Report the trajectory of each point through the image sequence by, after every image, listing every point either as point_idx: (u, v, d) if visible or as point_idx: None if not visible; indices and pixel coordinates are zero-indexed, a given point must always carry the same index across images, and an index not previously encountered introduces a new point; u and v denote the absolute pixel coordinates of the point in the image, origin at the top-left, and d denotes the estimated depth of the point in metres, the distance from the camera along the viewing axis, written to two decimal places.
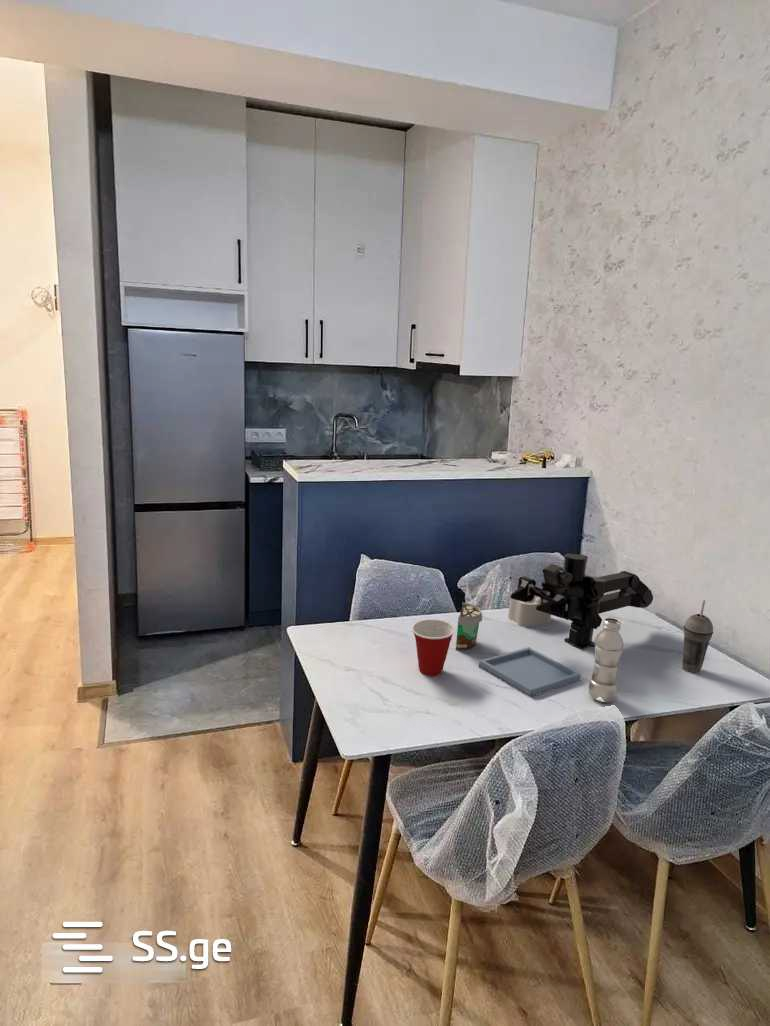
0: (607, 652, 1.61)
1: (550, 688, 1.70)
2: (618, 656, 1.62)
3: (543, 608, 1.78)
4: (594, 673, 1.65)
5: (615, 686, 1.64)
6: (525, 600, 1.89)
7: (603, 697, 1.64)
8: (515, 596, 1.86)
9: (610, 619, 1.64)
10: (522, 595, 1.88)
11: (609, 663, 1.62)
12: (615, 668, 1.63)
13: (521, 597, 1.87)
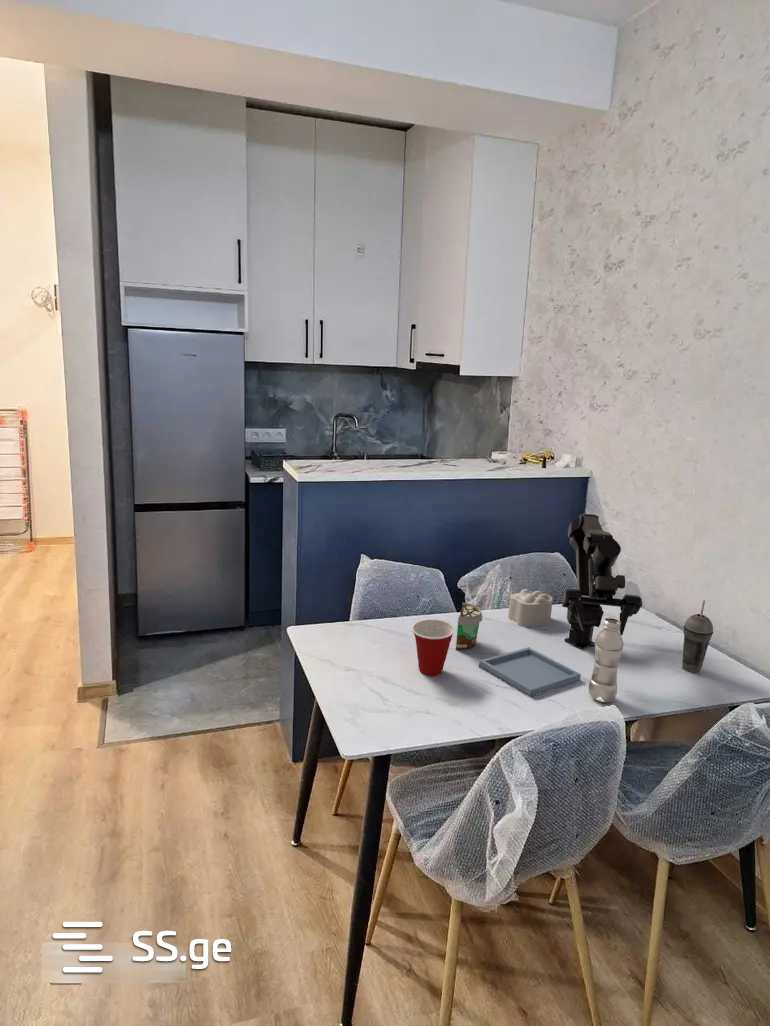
0: (607, 652, 1.61)
1: (550, 688, 1.70)
2: (618, 656, 1.62)
3: (624, 628, 1.72)
4: (594, 673, 1.65)
5: (615, 686, 1.64)
6: None
7: (603, 697, 1.64)
8: None
9: (610, 619, 1.64)
10: None
11: (609, 663, 1.62)
12: (615, 668, 1.63)
13: None
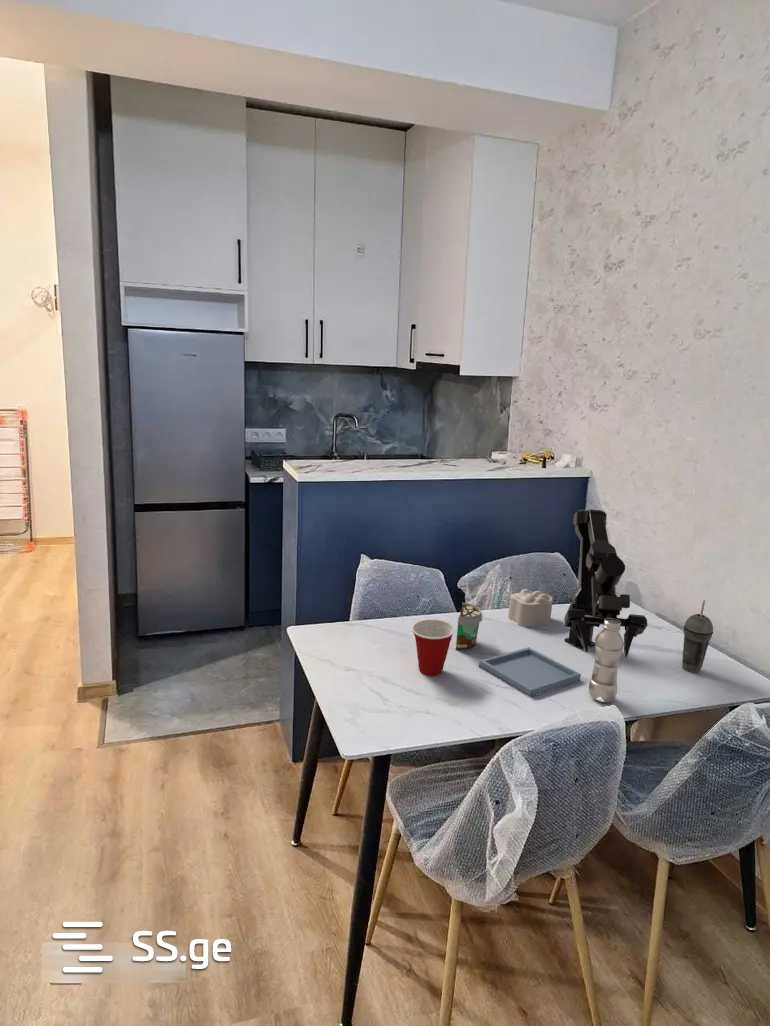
0: (607, 652, 1.61)
1: (550, 688, 1.70)
2: (618, 656, 1.62)
3: (628, 650, 1.66)
4: (594, 673, 1.65)
5: (615, 686, 1.64)
6: None
7: (603, 697, 1.64)
8: None
9: (610, 619, 1.64)
10: None
11: (609, 663, 1.62)
12: (615, 668, 1.63)
13: None
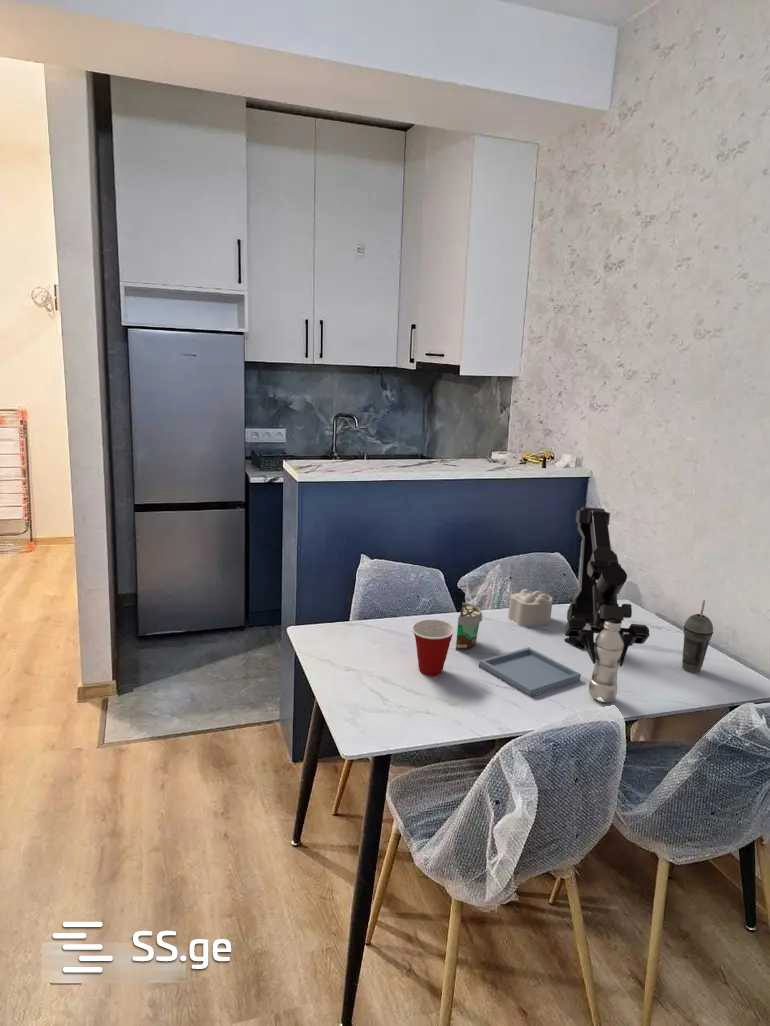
0: (607, 652, 1.61)
1: (550, 688, 1.70)
2: (618, 656, 1.62)
3: (623, 659, 1.64)
4: (594, 673, 1.65)
5: (615, 686, 1.64)
6: None
7: (603, 697, 1.63)
8: None
9: (610, 619, 1.64)
10: None
11: (609, 663, 1.62)
12: (615, 668, 1.63)
13: None
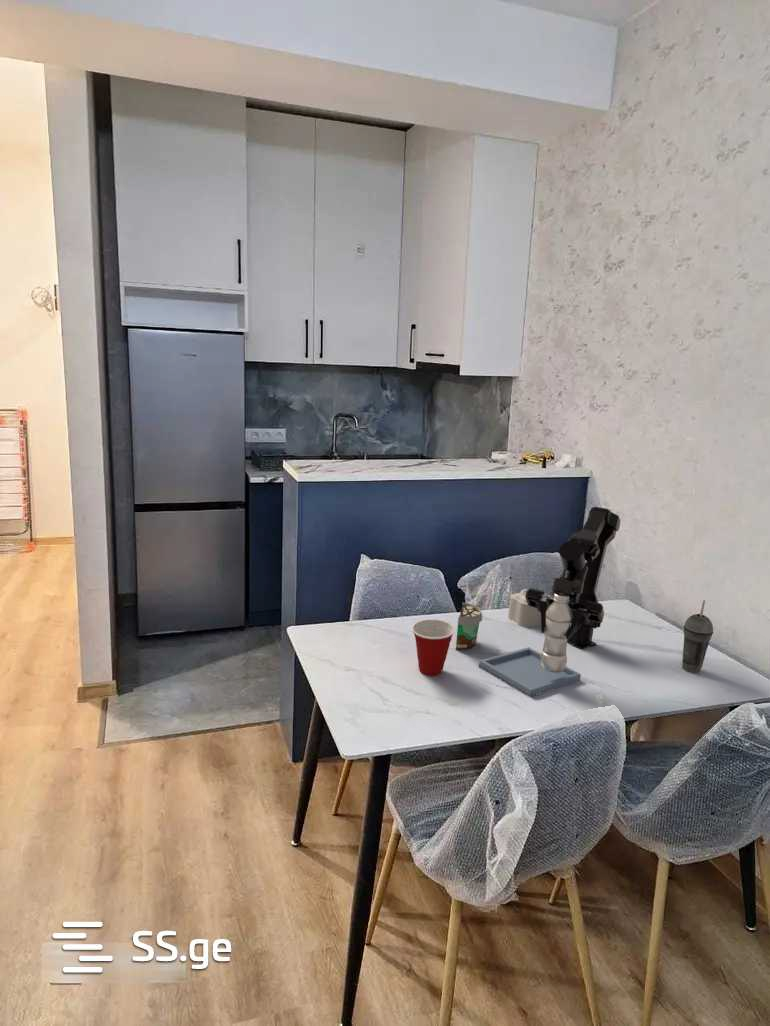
0: (551, 623, 1.67)
1: (550, 688, 1.70)
2: (563, 628, 1.67)
3: (572, 633, 1.68)
4: (544, 643, 1.72)
5: (561, 658, 1.69)
6: None
7: (548, 666, 1.70)
8: (545, 627, 1.71)
9: (563, 593, 1.69)
10: None
11: (554, 633, 1.68)
12: (561, 640, 1.68)
13: None
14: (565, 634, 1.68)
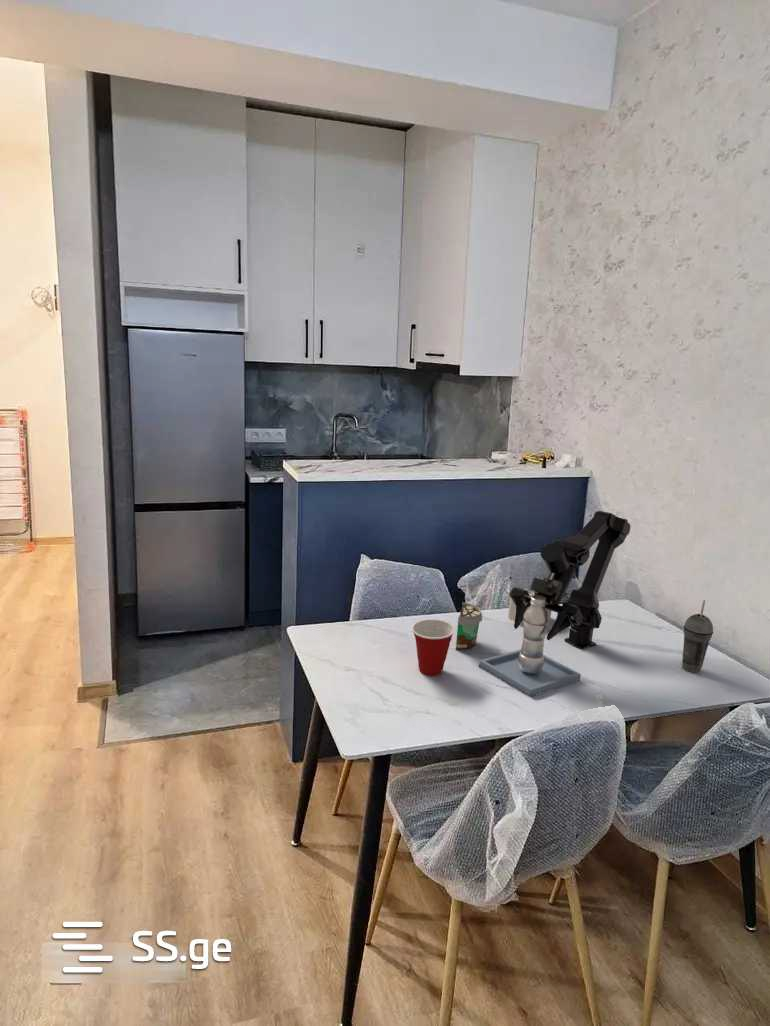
0: (526, 624, 1.73)
1: (550, 688, 1.70)
2: (537, 631, 1.72)
3: (553, 634, 1.72)
4: None
5: (536, 660, 1.74)
6: None
7: (523, 667, 1.75)
8: (518, 623, 1.78)
9: (541, 596, 1.75)
10: (522, 613, 1.79)
11: (529, 635, 1.74)
12: (535, 642, 1.73)
13: (522, 616, 1.80)
14: (540, 637, 1.73)
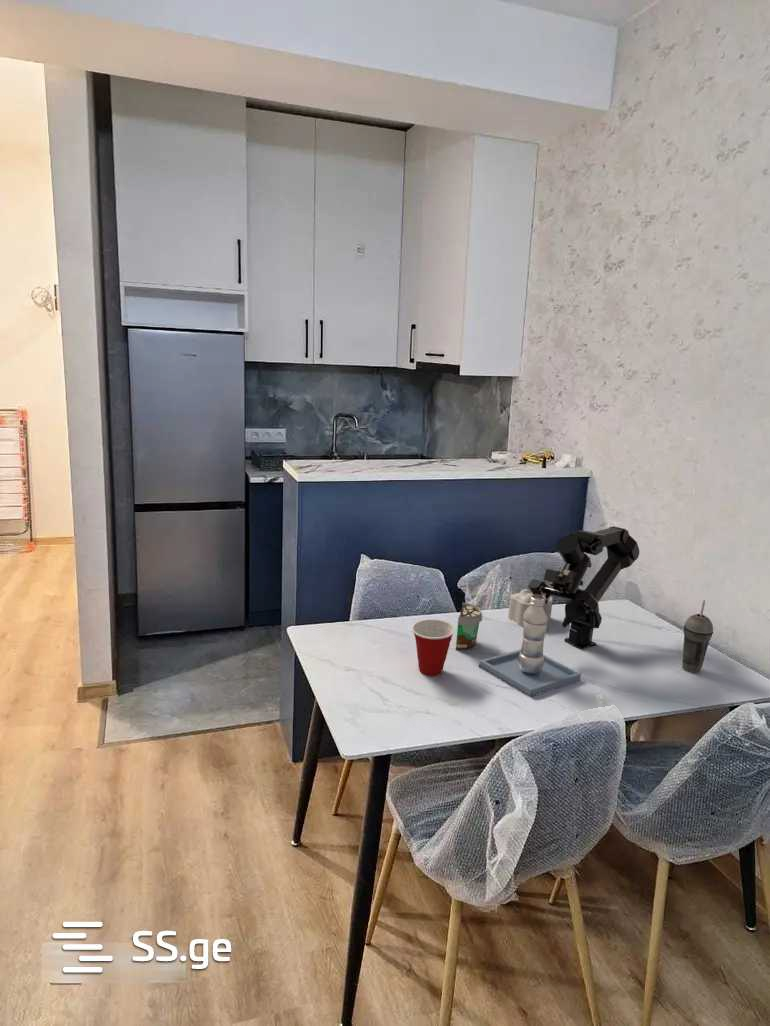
0: (526, 624, 1.73)
1: (550, 688, 1.70)
2: (537, 630, 1.72)
3: (568, 621, 1.79)
4: None
5: (536, 659, 1.74)
6: (546, 602, 1.89)
7: (523, 667, 1.75)
8: None
9: (541, 596, 1.75)
10: None
11: (529, 635, 1.74)
12: (535, 642, 1.73)
13: None
14: (540, 636, 1.73)
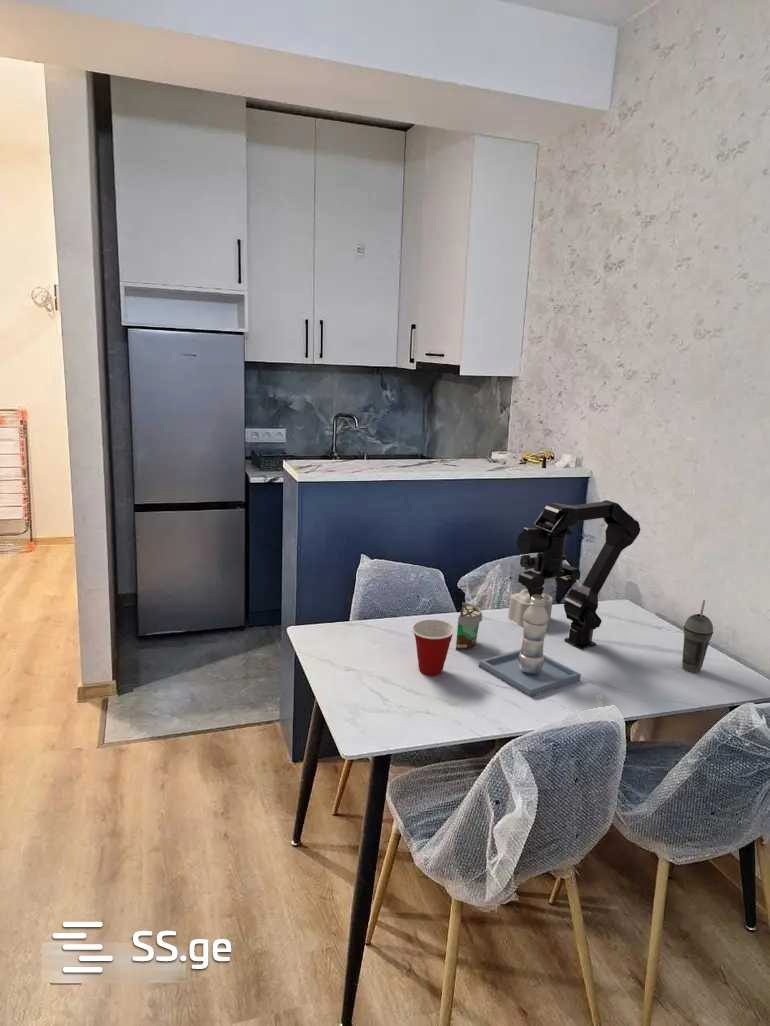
0: (526, 624, 1.73)
1: (550, 688, 1.70)
2: (537, 630, 1.72)
3: None
4: None
5: (536, 660, 1.74)
6: (567, 583, 1.90)
7: (523, 667, 1.75)
8: (558, 597, 1.92)
9: (541, 596, 1.75)
10: (561, 587, 1.91)
11: (529, 635, 1.74)
12: (535, 642, 1.73)
13: (562, 590, 1.91)
14: (540, 636, 1.73)
